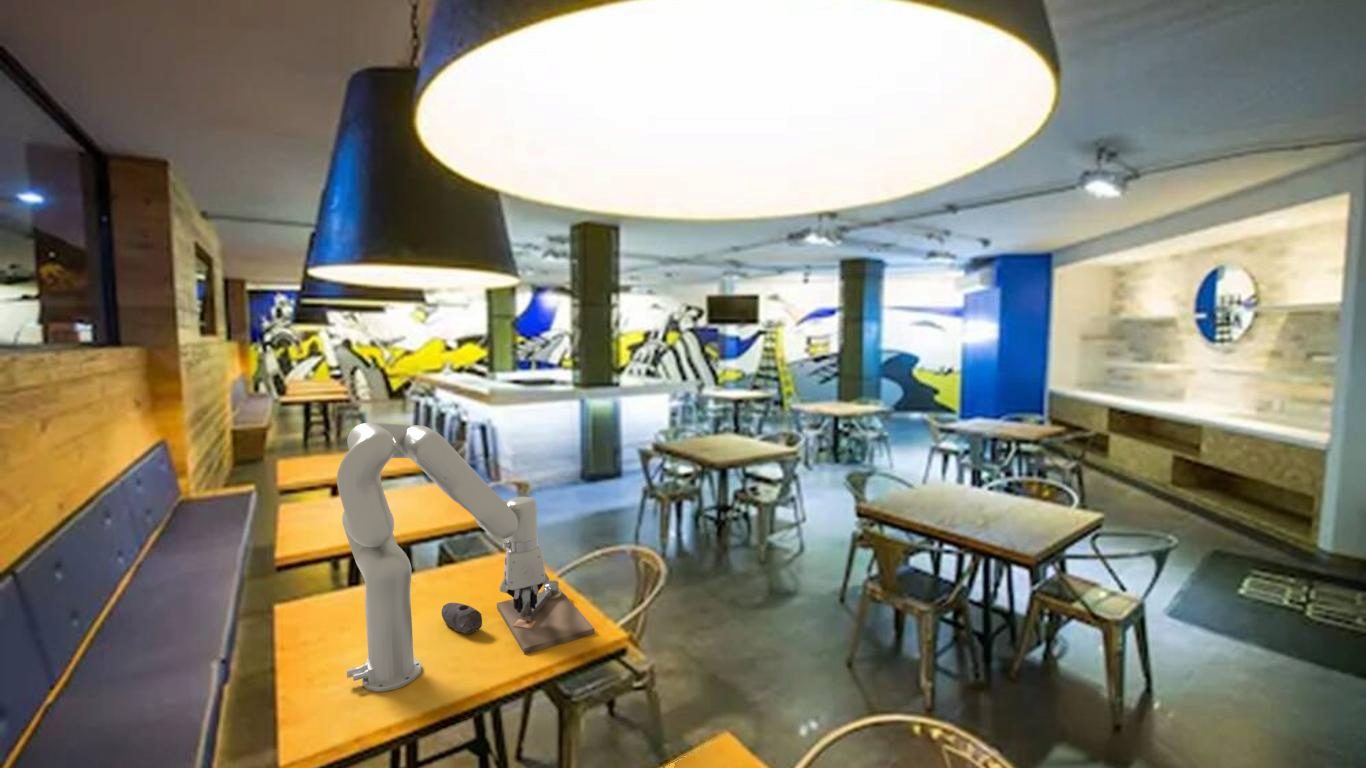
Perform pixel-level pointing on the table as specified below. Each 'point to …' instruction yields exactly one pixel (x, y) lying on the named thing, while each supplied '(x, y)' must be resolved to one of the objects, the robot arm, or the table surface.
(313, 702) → the table surface
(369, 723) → the table surface
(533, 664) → the table surface
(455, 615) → the perforated stone tool
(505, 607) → the board
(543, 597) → the press lever
